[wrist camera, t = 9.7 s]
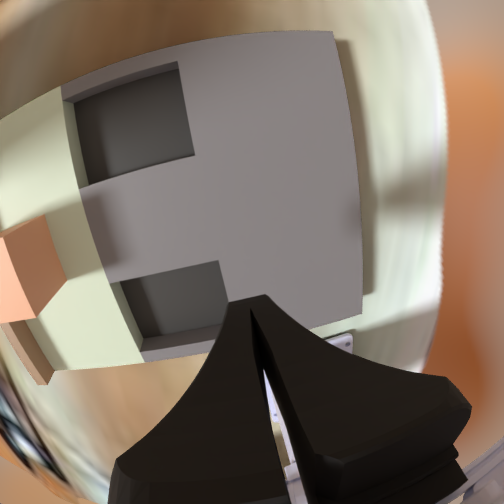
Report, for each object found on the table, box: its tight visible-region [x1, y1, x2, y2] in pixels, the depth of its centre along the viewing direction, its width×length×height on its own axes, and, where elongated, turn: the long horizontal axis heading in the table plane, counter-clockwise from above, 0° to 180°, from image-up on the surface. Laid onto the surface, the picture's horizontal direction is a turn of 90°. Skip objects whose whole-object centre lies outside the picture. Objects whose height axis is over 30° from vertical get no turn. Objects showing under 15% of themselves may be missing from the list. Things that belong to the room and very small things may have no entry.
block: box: [0, 214, 67, 324], centre depth 12 cm, size 4×4×4 cm
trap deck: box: [0, 31, 363, 385], centre depth 15 cm, size 19×26×4 cm
